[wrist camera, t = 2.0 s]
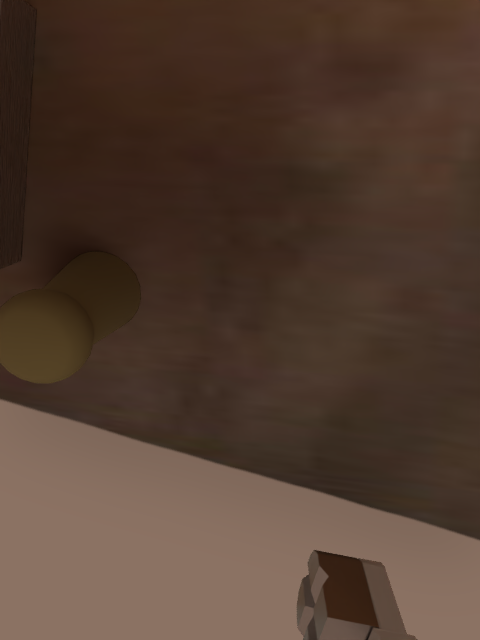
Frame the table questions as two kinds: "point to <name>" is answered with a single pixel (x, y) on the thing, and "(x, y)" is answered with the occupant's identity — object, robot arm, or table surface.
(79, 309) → the cork
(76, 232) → the table surface
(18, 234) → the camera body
